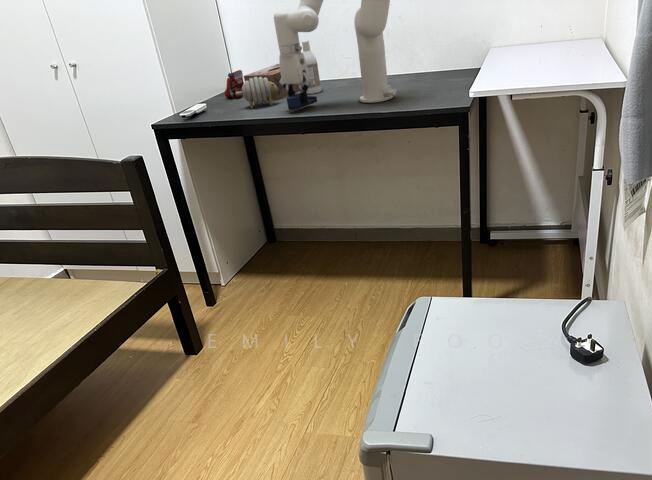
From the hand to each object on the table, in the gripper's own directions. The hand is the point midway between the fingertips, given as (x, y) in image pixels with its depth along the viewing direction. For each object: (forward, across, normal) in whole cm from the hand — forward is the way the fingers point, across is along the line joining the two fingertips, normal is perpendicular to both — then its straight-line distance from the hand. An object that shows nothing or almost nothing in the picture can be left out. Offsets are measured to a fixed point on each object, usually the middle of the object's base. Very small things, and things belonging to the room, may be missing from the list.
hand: (298, 102), depth 206 cm
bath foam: (+3, +17, -28) cm, 33 cm away
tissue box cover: (+3, +34, -25) cm, 42 cm away
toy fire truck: (+3, +52, -17) cm, 55 cm away
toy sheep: (+3, +25, -4) cm, 25 cm away
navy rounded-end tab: (+1, 0, -1) cm, 2 cm away
